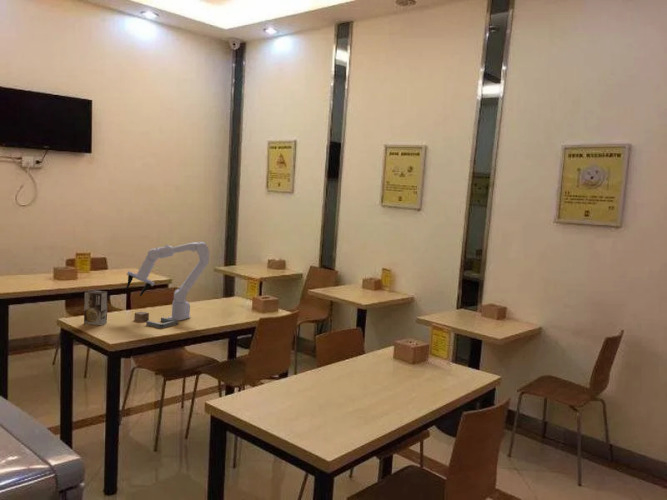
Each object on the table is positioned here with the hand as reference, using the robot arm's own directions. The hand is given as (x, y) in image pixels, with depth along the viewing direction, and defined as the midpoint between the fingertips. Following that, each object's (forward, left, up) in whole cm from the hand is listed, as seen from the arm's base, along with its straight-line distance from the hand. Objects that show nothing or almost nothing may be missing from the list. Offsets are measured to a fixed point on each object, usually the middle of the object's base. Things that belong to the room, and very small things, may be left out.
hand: (133, 292), depth 288 cm
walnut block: (0, +7, -14) cm, 16 cm away
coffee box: (+20, -4, -14) cm, 25 cm away
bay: (0, +21, -14) cm, 25 cm away
